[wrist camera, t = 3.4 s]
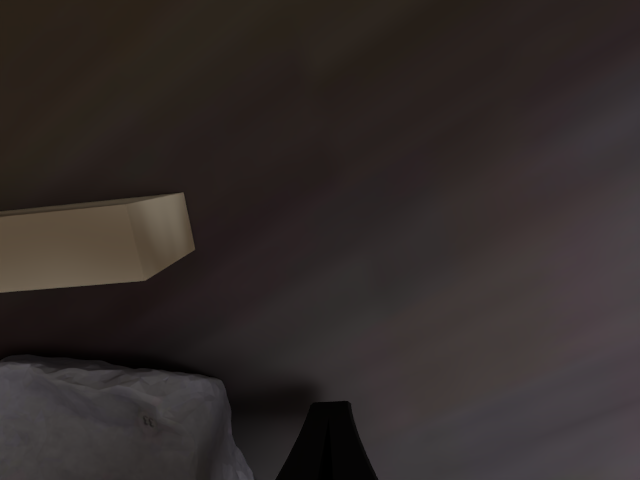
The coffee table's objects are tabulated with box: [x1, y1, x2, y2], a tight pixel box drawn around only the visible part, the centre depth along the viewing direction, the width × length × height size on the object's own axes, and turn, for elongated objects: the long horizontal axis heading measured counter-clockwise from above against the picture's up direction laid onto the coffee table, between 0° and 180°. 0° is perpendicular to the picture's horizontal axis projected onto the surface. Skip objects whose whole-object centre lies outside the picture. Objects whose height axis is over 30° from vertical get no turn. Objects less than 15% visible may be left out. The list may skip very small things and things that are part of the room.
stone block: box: [0, 354, 254, 480], centre depth 12 cm, size 12×5×10 cm
